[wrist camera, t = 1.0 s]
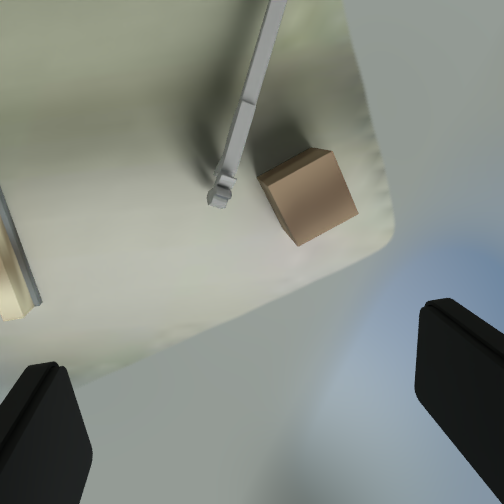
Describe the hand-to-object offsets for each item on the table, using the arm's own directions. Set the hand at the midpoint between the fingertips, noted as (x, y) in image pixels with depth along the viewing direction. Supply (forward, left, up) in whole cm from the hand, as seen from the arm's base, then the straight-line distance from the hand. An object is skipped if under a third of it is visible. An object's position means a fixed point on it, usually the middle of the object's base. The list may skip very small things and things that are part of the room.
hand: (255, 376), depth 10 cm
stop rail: (+1, -17, -22) cm, 27 cm away
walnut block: (0, +7, -22) cm, 23 cm away
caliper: (-10, +5, -23) cm, 25 cm away
